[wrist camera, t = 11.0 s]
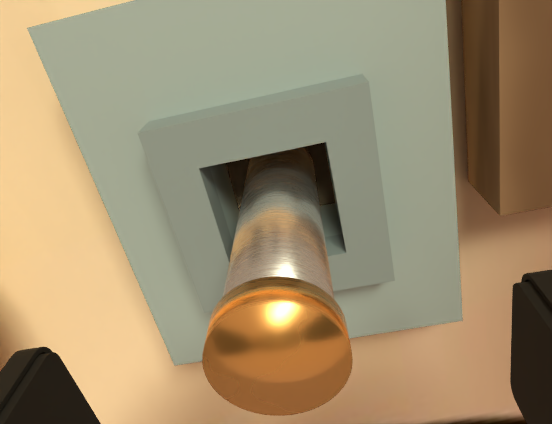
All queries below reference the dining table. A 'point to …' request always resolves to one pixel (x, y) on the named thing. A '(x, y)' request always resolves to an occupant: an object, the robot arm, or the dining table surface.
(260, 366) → the pin
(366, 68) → the dock plate
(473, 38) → the block
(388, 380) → the dining table surface
